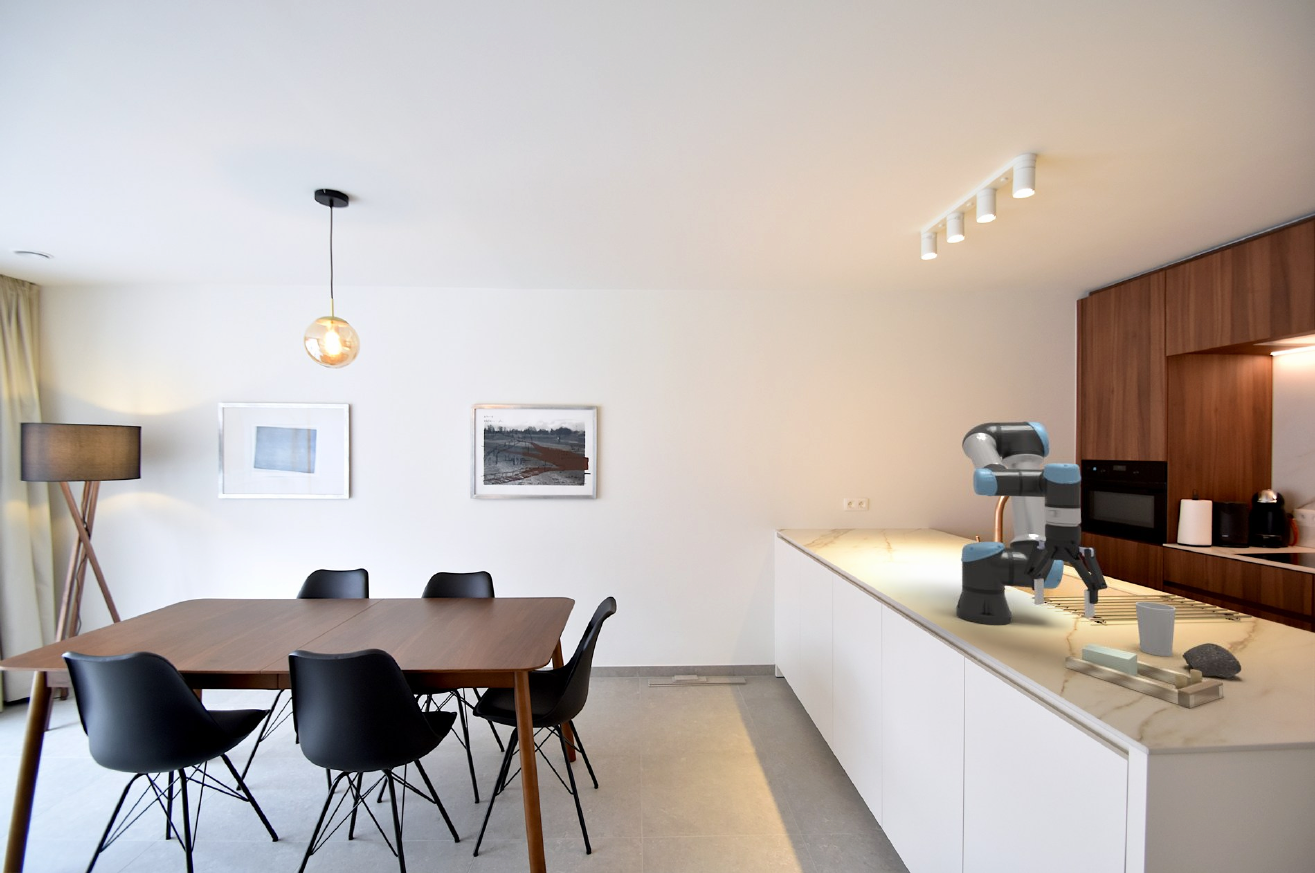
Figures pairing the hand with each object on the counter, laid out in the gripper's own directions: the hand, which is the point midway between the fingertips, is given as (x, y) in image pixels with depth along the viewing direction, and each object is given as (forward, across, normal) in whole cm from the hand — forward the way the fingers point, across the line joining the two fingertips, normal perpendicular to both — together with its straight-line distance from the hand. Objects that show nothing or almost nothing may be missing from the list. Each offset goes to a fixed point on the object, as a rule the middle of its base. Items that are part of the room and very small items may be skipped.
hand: (1063, 609), depth 146 cm
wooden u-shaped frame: (+12, +16, 0) cm, 20 cm away
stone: (+12, +21, +21) cm, 32 cm away
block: (+12, +10, 0) cm, 16 cm away
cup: (+12, +8, +26) cm, 29 cm away
